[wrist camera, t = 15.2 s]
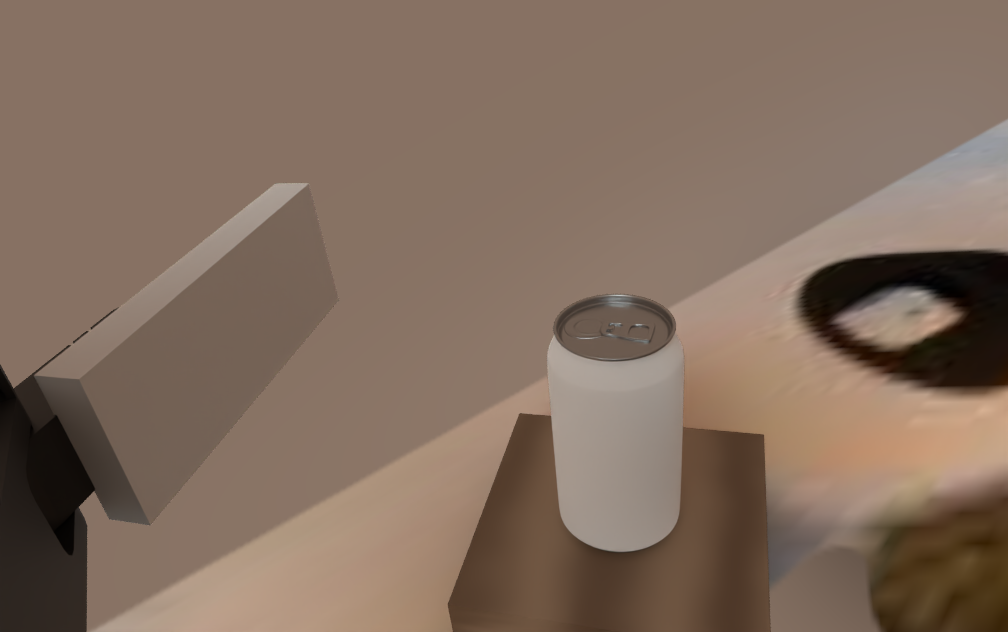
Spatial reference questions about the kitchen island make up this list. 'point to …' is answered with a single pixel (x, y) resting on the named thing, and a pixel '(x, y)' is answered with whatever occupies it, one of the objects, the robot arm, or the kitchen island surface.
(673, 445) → the can
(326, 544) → the kitchen island surface
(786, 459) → the kitchen island surface
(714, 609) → the walnut board
